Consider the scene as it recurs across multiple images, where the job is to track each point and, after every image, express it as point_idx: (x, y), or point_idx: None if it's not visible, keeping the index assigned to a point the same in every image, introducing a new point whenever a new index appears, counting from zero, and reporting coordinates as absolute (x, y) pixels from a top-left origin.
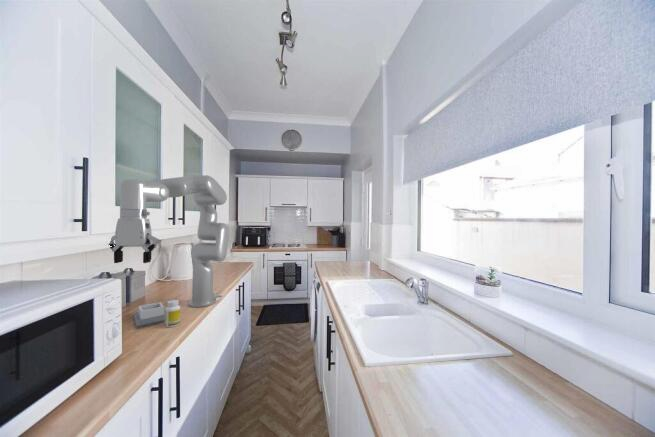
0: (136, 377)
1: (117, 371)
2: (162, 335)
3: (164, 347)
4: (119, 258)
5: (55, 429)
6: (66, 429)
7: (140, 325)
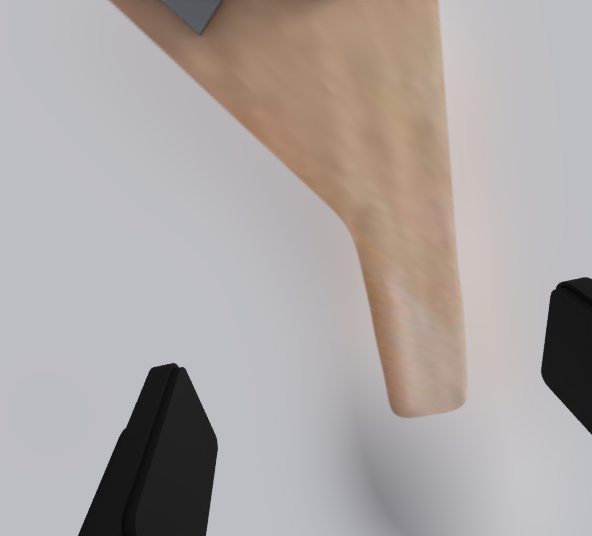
0: (459, 305)
1: (396, 296)
2: (373, 83)
3: (442, 171)
4: (192, 452)
5: (424, 413)
6: (441, 411)
7: (207, 20)
